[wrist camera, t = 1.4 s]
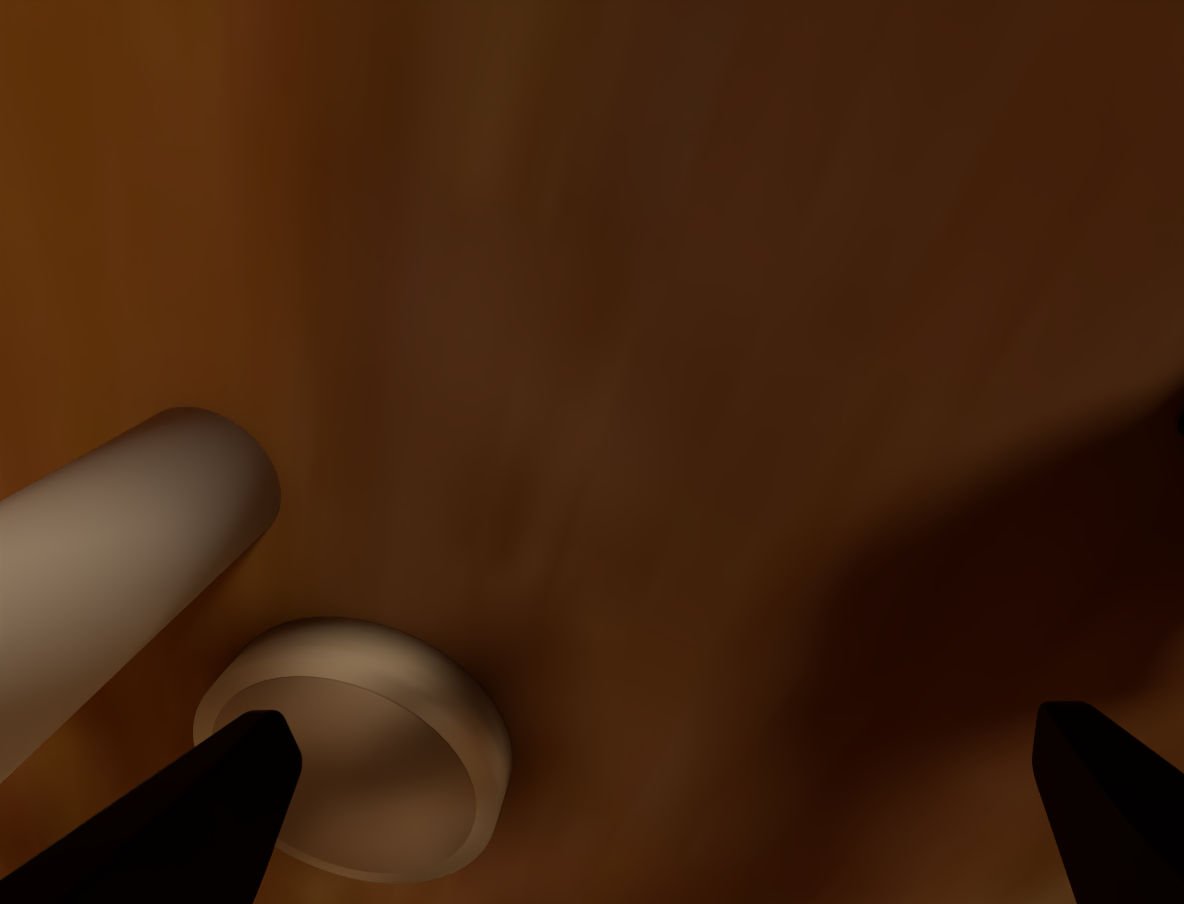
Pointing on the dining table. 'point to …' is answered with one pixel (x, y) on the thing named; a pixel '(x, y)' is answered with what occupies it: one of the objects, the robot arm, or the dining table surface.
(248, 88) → the dining table surface
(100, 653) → the candle
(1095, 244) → the dining table surface
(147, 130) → the dining table surface
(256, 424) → the dining table surface
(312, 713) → the base disc
